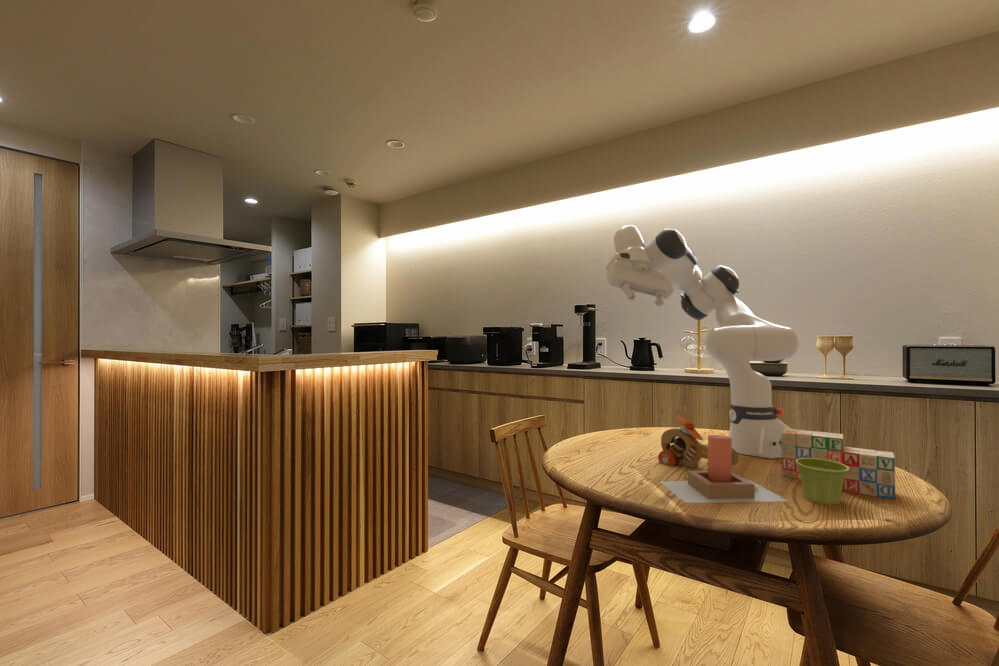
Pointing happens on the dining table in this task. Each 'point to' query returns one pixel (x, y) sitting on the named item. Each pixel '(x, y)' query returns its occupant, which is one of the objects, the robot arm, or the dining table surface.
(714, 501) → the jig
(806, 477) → the plant pot
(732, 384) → the robot arm
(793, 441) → the stack of blocks
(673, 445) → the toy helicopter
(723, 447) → the pink cylinder peg
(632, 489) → the dining table surface
